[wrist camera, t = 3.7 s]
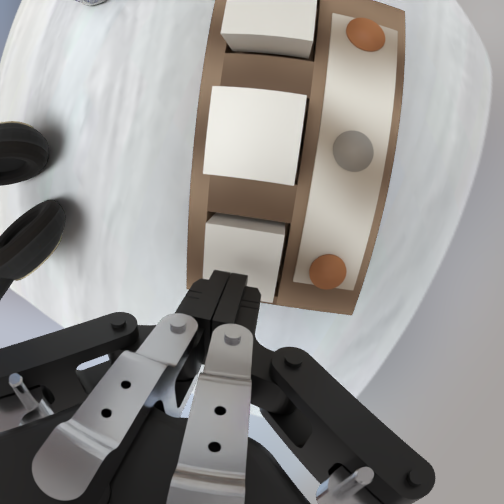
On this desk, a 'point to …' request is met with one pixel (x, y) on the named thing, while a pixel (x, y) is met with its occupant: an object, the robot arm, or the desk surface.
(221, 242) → the button
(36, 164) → the headphones
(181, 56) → the desk surface
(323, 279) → the button board
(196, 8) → the desk surface
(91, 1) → the energy drink
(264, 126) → the button middle
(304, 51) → the button
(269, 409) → the robot arm
